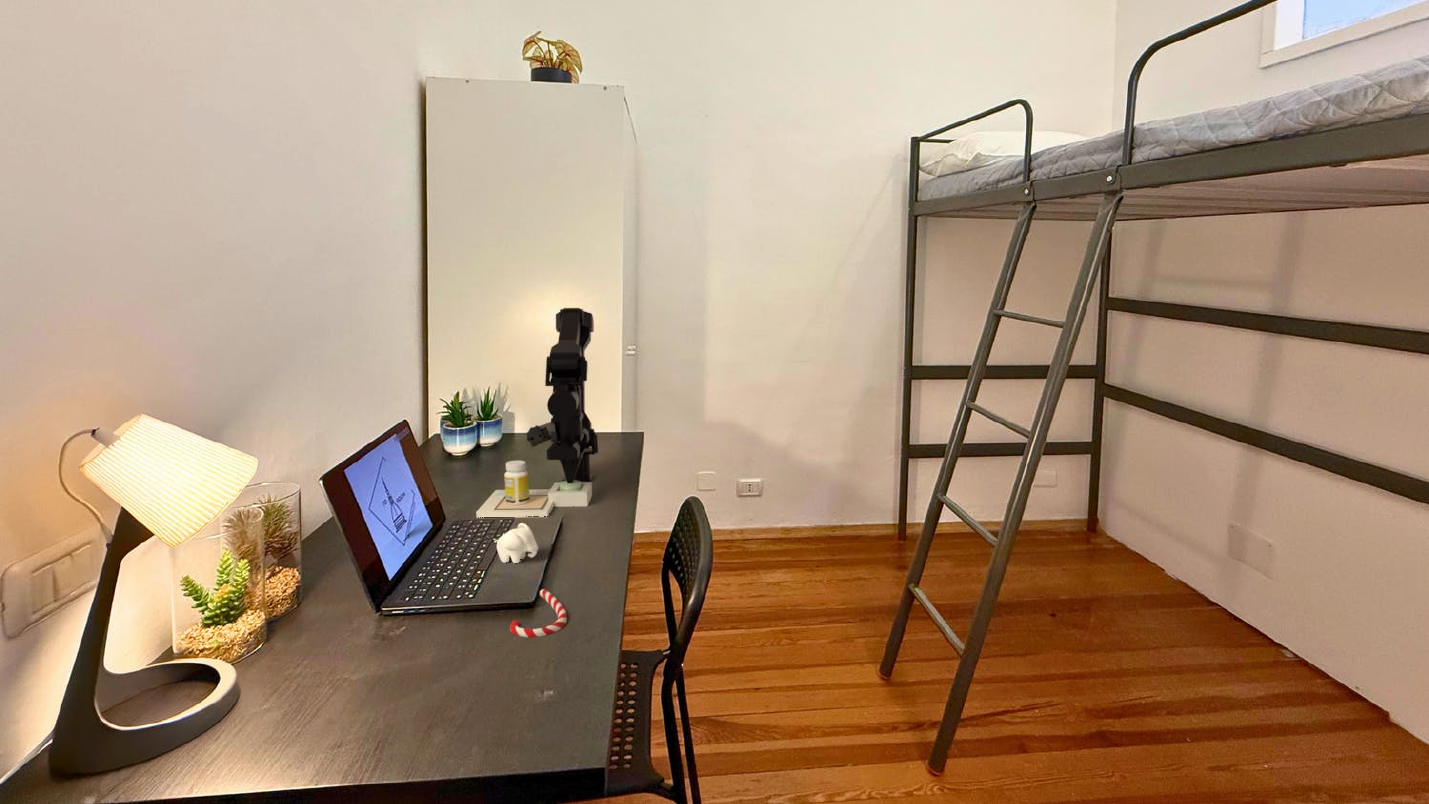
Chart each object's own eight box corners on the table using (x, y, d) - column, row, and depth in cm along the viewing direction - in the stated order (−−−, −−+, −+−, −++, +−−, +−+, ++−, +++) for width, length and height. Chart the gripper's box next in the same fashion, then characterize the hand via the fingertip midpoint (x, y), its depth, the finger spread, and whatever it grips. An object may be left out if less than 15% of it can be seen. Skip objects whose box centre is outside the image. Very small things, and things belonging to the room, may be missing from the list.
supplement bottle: (530, 498, 171) (528, 459, 169) (528, 504, 166) (527, 464, 165) (506, 499, 170) (504, 460, 168) (504, 506, 165) (502, 465, 164)
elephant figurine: (530, 569, 135) (529, 535, 134) (485, 566, 136) (483, 532, 135) (546, 555, 141) (544, 522, 140) (502, 552, 143) (501, 519, 142)
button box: (555, 495, 177) (554, 482, 177) (592, 495, 177) (591, 482, 177) (548, 506, 169) (548, 492, 169) (587, 506, 169) (586, 492, 169)
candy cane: (565, 585, 126) (567, 628, 111) (565, 594, 126) (567, 637, 111) (513, 590, 124) (508, 633, 110) (513, 598, 124) (509, 642, 110)
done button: (561, 491, 175) (561, 480, 175) (582, 490, 175) (582, 480, 175) (558, 496, 171) (558, 485, 170) (579, 496, 171) (579, 485, 170)
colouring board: (496, 495, 178) (495, 489, 178) (560, 494, 178) (560, 488, 178) (476, 517, 162) (476, 511, 162) (547, 517, 162) (547, 510, 162)
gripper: (537, 403, 179) (540, 472, 182) (519, 419, 161) (522, 496, 163) (588, 402, 179) (590, 471, 182) (576, 419, 161) (578, 495, 164)
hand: (570, 483), depth 173 cm, fingers closed, pressing on done button
